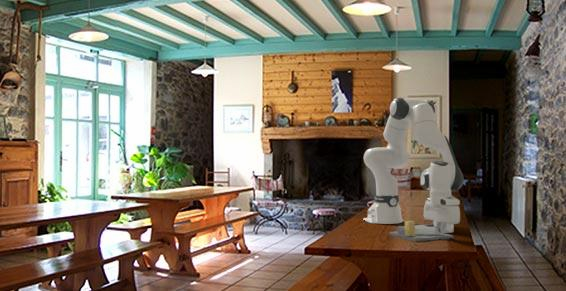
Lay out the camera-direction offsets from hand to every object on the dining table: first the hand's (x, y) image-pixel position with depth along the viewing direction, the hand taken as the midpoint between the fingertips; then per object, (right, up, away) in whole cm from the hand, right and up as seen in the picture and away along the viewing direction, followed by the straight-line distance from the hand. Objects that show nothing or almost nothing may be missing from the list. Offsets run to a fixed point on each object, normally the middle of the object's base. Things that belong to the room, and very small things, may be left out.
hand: (441, 232), depth 231 cm
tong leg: (-4, -1, +4) cm, 6 cm away
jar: (+7, -3, +20) cm, 21 cm away
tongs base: (-8, -2, +8) cm, 11 cm away
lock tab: (-13, -1, +1) cm, 13 cm away
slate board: (-7, -3, +7) cm, 10 cm away
